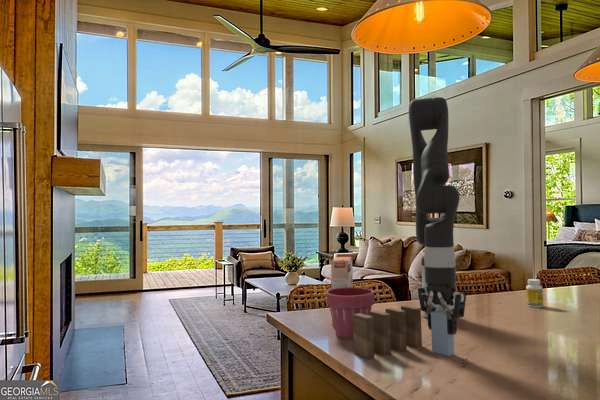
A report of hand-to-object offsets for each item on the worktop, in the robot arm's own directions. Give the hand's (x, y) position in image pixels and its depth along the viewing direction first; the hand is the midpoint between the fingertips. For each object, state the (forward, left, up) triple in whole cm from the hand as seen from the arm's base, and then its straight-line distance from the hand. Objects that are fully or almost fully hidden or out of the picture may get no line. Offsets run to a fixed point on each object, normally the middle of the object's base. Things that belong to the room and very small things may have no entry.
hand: (442, 331), depth 119 cm
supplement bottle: (-55, -47, -6) cm, 72 cm away
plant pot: (+18, -23, -6) cm, 30 cm away
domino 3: (+10, -6, -5) cm, 13 cm away
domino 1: (+20, -2, -5) cm, 21 cm away
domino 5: (0, 0, -5) cm, 5 cm away
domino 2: (+15, -4, -5) cm, 16 cm away
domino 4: (+5, -9, -5) cm, 11 cm away
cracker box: (+17, -39, -6) cm, 43 cm away
